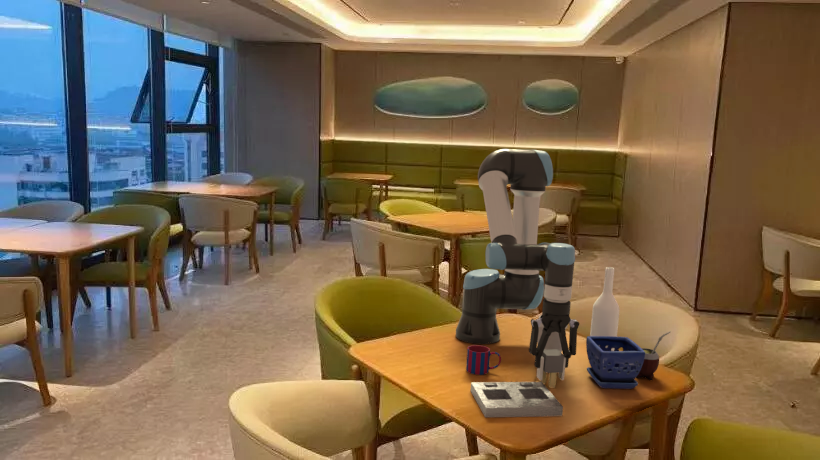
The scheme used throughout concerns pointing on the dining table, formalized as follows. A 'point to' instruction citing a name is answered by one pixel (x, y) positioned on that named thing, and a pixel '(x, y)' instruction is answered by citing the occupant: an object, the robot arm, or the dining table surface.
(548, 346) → the coffee cup
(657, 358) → the mate gourd
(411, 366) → the dining table surface
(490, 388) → the socket
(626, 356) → the flower pot
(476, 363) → the cup
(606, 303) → the bottle
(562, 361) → the plug
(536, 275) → the robot arm
